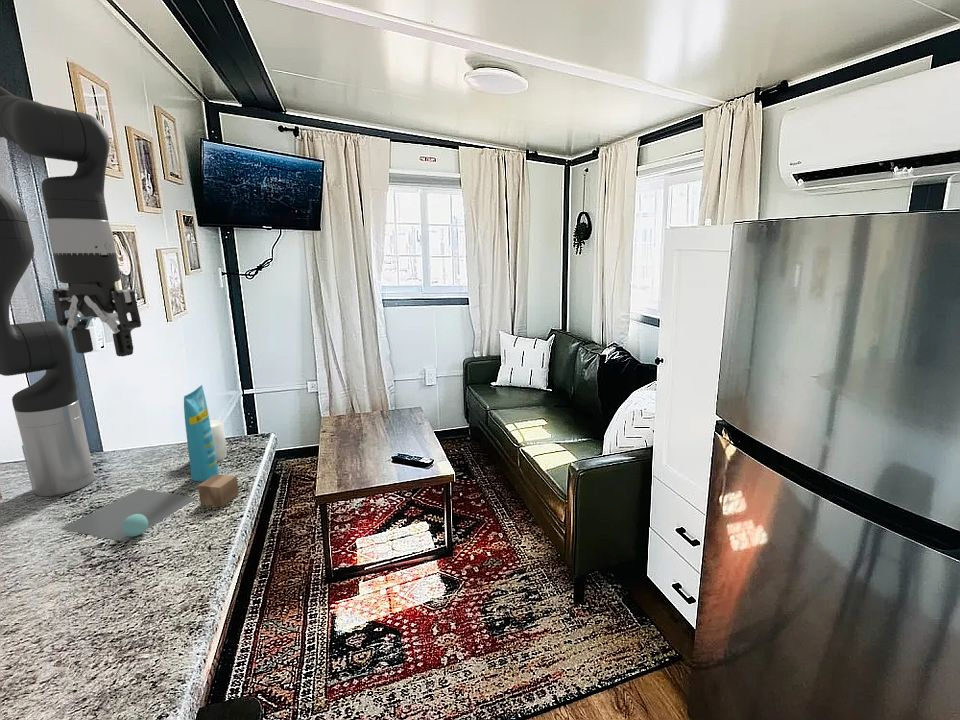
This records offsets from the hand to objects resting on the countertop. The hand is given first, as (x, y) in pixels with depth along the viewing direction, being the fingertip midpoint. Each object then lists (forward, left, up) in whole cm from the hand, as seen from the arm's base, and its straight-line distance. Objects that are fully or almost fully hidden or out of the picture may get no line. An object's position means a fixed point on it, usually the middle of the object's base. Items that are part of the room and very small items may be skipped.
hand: (105, 353), depth 75 cm
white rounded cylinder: (-8, +24, -30) cm, 39 cm away
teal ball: (+5, -4, -30) cm, 30 cm away
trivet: (-2, +1, -30) cm, 30 cm away
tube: (-1, +16, -30) cm, 34 cm away
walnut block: (+7, +9, -28) cm, 30 cm away
